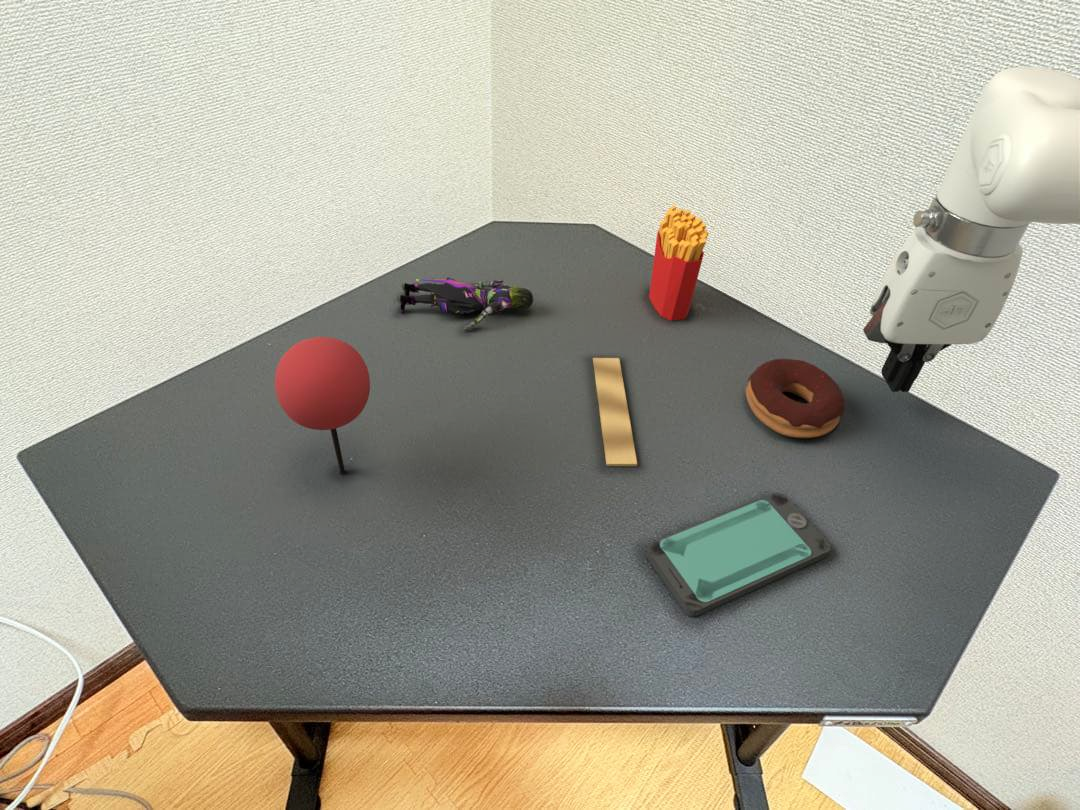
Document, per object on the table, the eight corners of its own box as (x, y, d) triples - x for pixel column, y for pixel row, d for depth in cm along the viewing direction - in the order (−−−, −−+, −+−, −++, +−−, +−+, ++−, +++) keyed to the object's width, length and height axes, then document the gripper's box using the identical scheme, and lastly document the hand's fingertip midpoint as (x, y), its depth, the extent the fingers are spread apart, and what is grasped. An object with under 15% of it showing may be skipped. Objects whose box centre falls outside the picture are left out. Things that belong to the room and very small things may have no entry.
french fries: (642, 288, 93) (656, 202, 85) (671, 285, 94) (687, 199, 85) (667, 328, 87) (684, 240, 79) (697, 324, 88) (718, 236, 79)
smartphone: (834, 547, 63) (692, 611, 58) (830, 555, 64) (689, 619, 59) (779, 487, 68) (643, 542, 63) (776, 496, 69) (641, 550, 64)
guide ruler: (636, 466, 71) (637, 463, 70) (606, 466, 71) (606, 463, 70) (619, 360, 82) (619, 357, 82) (592, 360, 82) (593, 357, 82)
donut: (846, 449, 73) (860, 421, 71) (748, 439, 74) (758, 411, 71) (828, 383, 81) (839, 355, 78) (739, 374, 81) (747, 347, 78)
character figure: (395, 330, 85) (531, 334, 85) (390, 304, 83) (530, 308, 82) (410, 285, 92) (536, 288, 91) (406, 259, 90) (535, 262, 89)
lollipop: (386, 496, 67) (365, 373, 57) (300, 508, 66) (263, 384, 55) (381, 437, 72) (361, 315, 62) (302, 447, 71) (268, 324, 61)
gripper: (906, 247, 59) (835, 407, 72) (1082, 249, 60) (981, 408, 73) (873, 202, 65) (812, 359, 78) (1035, 204, 66) (948, 359, 78)
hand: (894, 382), depth 75 cm, fingers closed
